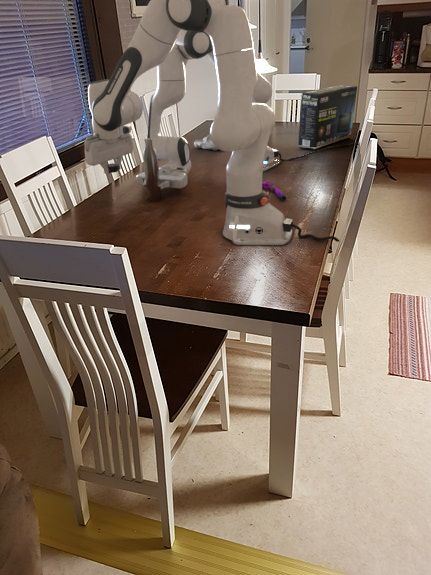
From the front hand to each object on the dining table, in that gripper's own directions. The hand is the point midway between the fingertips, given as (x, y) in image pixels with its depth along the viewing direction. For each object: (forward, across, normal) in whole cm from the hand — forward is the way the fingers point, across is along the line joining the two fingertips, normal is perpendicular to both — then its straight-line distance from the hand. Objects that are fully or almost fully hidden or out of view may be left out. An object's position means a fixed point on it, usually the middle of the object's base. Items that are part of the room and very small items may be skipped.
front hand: (112, 171), depth 163 cm
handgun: (+14, +44, -40) cm, 61 cm away
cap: (-2, 0, 0) cm, 2 cm away
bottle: (+15, +16, -4) cm, 22 cm away
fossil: (+15, +92, +21) cm, 96 cm away
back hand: (+9, +15, -4) cm, 18 cm away
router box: (+14, +126, -30) cm, 130 cm away
